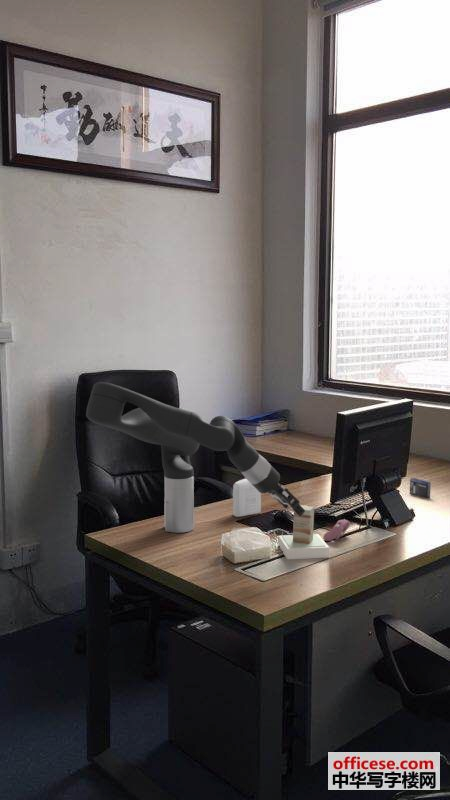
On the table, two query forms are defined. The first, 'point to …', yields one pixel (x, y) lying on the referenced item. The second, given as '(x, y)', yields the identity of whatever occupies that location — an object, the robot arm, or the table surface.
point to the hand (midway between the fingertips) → (295, 509)
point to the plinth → (303, 548)
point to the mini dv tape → (420, 487)
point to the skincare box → (303, 525)
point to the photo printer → (245, 499)
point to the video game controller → (337, 530)
